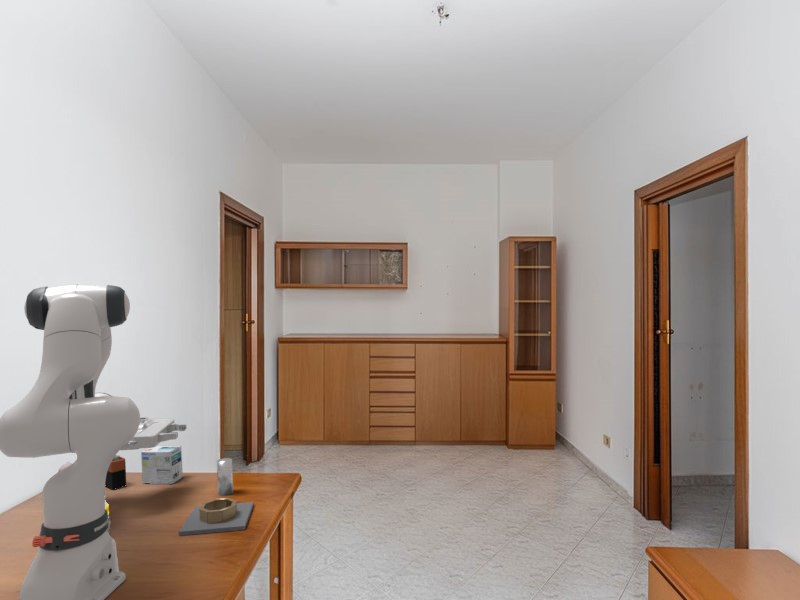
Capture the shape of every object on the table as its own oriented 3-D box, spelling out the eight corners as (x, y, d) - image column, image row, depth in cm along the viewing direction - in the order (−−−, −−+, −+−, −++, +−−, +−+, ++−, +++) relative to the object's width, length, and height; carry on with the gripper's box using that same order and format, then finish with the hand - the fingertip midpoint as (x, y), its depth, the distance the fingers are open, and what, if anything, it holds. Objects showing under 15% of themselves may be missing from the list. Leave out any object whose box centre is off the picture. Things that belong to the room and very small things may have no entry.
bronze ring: (232, 521, 138) (232, 509, 138) (197, 524, 137) (196, 512, 137) (238, 507, 147) (238, 497, 147) (205, 510, 146) (204, 499, 146)
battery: (112, 490, 167) (111, 459, 167) (103, 486, 171) (102, 455, 171) (127, 486, 170) (125, 455, 170) (117, 482, 175) (116, 452, 174)
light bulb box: (183, 477, 177) (182, 445, 177) (172, 484, 171) (171, 451, 171) (153, 477, 178) (151, 445, 178) (141, 484, 172) (140, 451, 172)
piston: (231, 494, 160) (230, 461, 160) (216, 496, 159) (215, 463, 159) (234, 489, 164) (233, 457, 164) (219, 490, 164) (218, 458, 164)
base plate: (244, 529, 135) (244, 525, 135) (179, 535, 133) (179, 531, 133) (253, 505, 151) (253, 501, 151) (195, 510, 149) (195, 506, 149)
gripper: (119, 432, 148) (171, 429, 150) (144, 416, 168) (190, 413, 170) (120, 455, 148) (171, 452, 150) (145, 435, 168) (190, 433, 170)
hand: (181, 431), depth 160 cm, fingers open, 8 cm apart
